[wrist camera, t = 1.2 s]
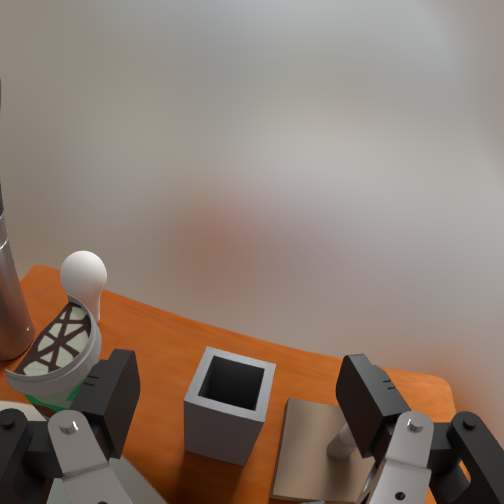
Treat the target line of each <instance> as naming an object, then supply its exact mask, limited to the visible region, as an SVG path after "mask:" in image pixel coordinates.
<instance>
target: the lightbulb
mask: <svg viewBox="0 0 504 504" xmlns="http://www.w3.org/2000/svg"><path fill="white" fill-rule="evenodd" d="M60 280H61V284H62V286H63V288H64V290H65V292H66V293H67V294H69V295H71V296H74V297H75V298H77V299H79V300H80V301H81V302H82V303H83V304H84V305H85V306H86V307H87V309H88V310H89V311H90V312H91V314H92V316H93V318H94V320H95V322H96V324H98V322H99V321H100V314H99V310H100V296H101V293H102V292H103V290H104V287H105V285H106V280H107V273H106V269H105V266H104V264H103V262H102V261H101V259H100V258H99V257H98V256H96V255H95V254H93V253H91V252H88V251H78V252H75V253H73V254H71V255H70V256H68V257H67V258H66V260H65V261H64V263H63V265H62V267H61V271H60Z"/></svg>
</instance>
